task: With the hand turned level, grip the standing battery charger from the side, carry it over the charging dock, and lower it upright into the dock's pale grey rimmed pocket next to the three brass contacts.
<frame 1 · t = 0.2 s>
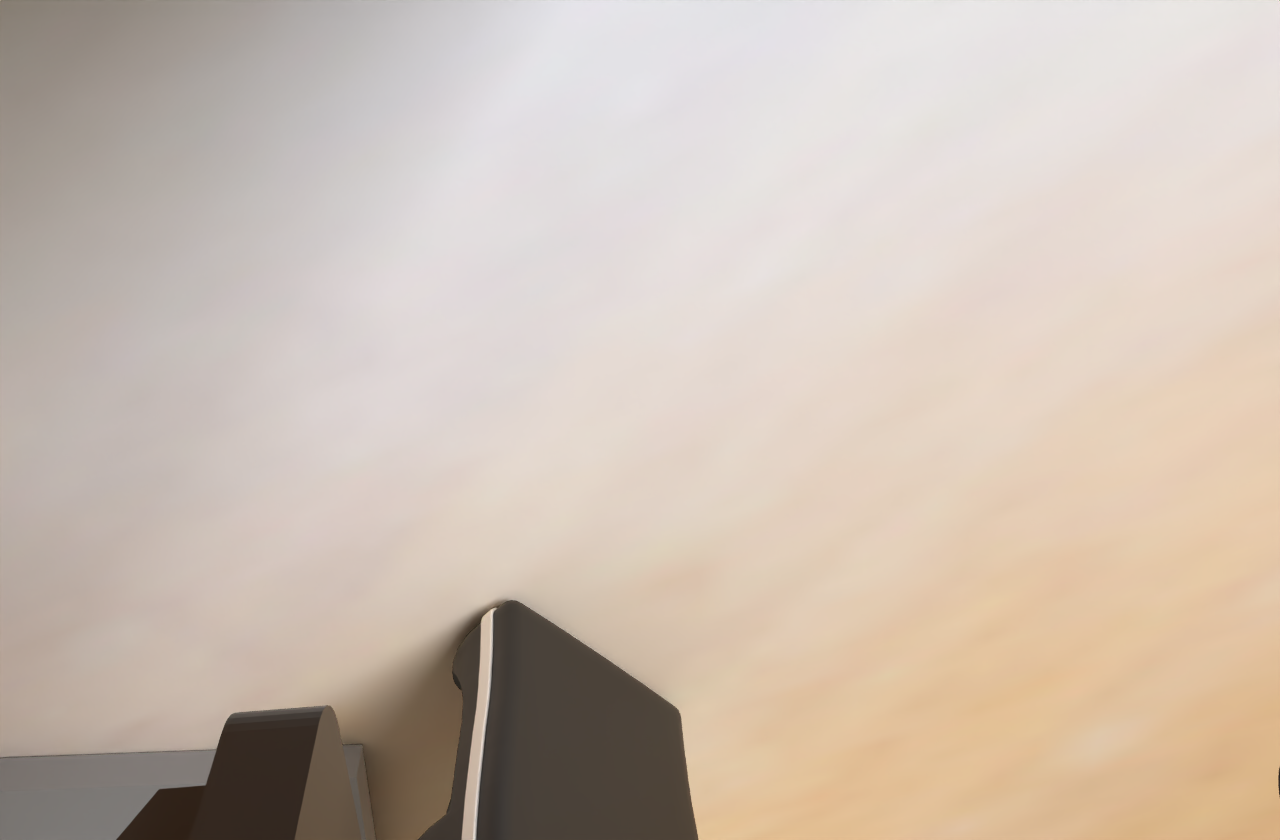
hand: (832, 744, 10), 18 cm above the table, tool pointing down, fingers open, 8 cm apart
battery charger: (554, 680, 33), on the table
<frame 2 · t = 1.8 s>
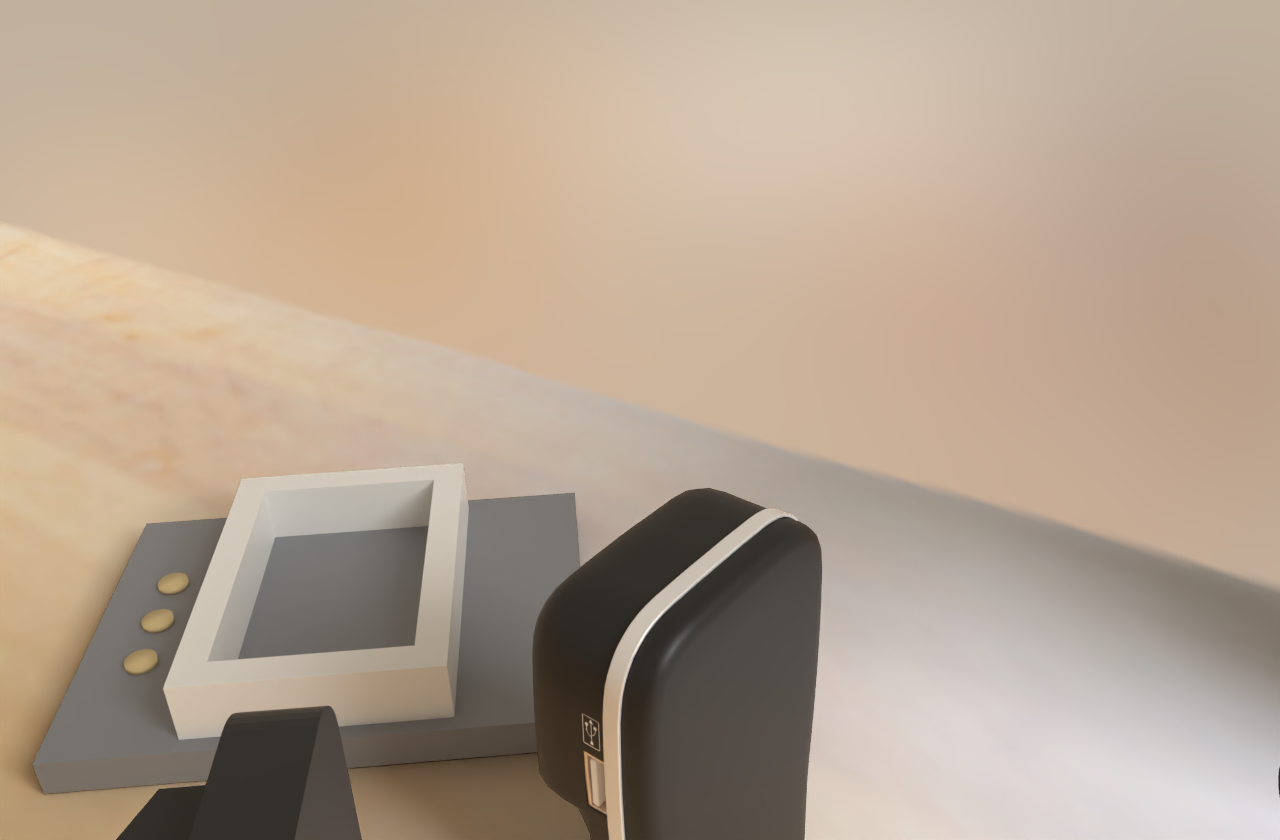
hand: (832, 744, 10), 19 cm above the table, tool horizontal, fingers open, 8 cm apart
charging dock: (347, 637, 40), on the table
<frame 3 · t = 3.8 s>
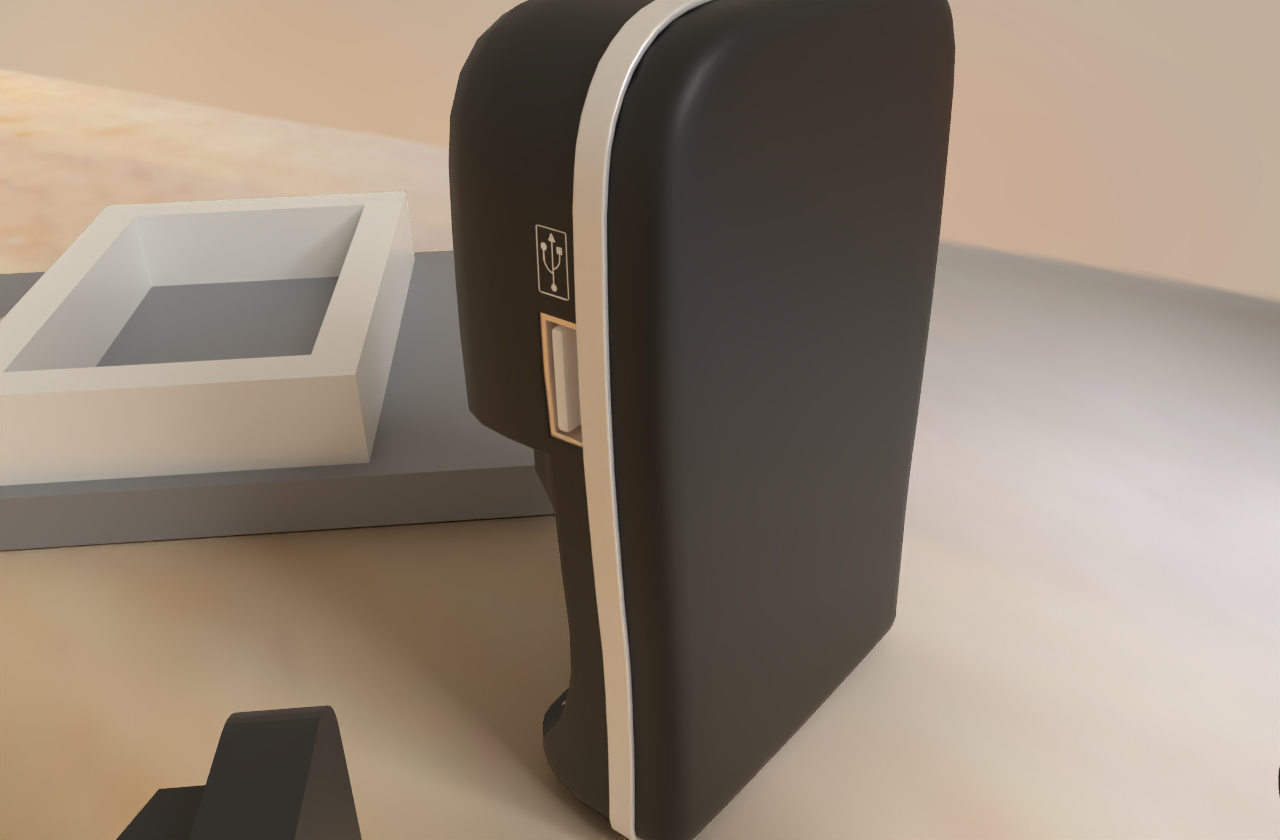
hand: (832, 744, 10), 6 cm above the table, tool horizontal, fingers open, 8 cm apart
charging dock: (237, 397, 29), on the table
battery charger: (702, 700, 20), on the table
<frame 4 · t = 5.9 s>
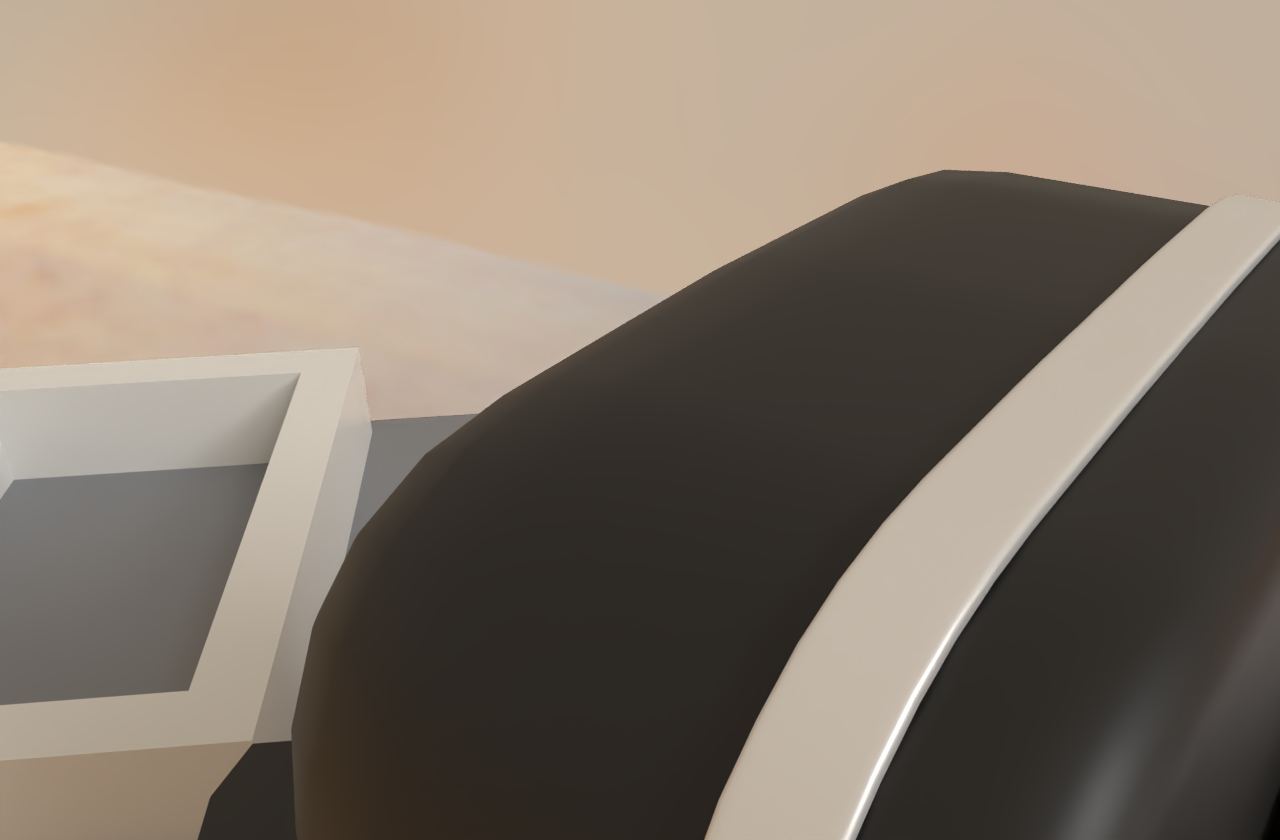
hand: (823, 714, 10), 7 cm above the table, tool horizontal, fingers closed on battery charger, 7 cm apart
charging dock: (114, 664, 21), on the table
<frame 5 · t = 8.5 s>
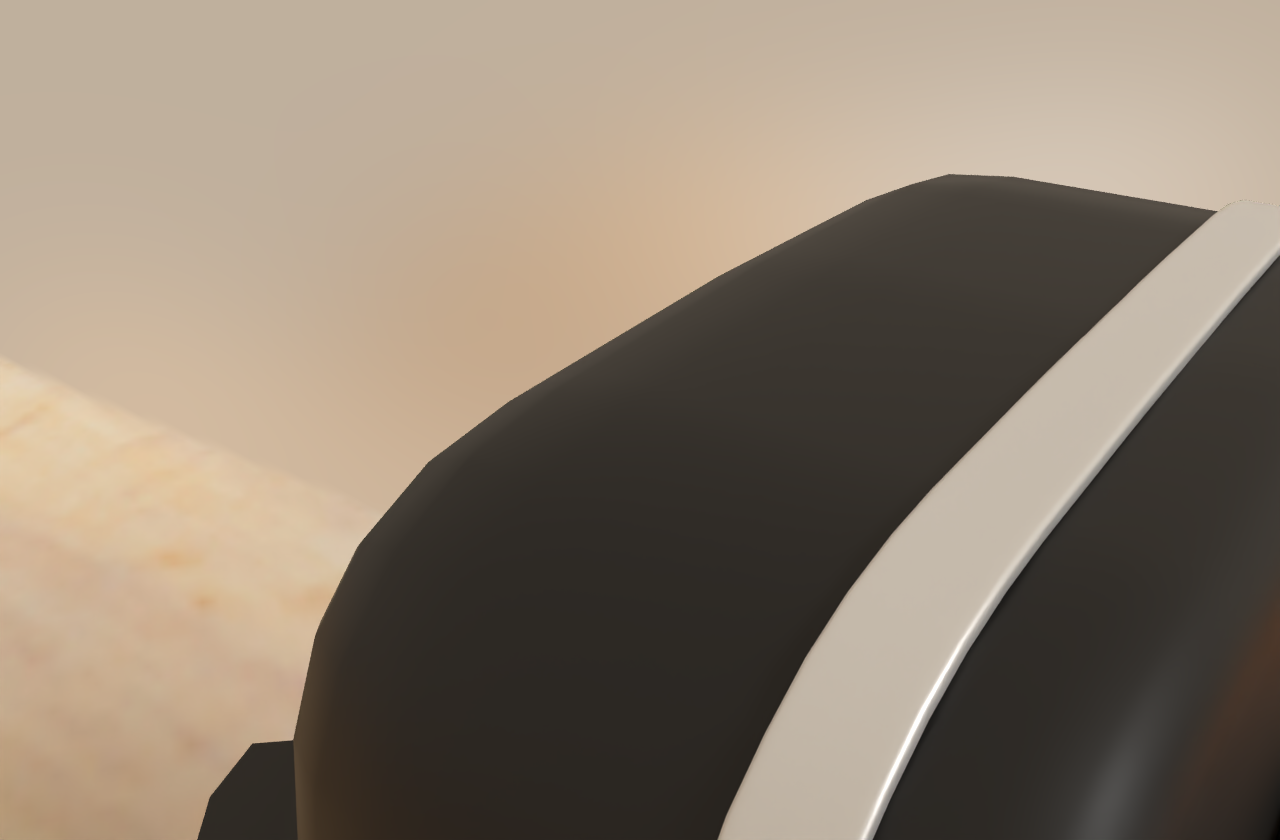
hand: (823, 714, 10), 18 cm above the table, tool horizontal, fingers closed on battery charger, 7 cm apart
when the fingers open (10 cm above the table, at t = 11.0 s): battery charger stays where it is, resting on charging dock.
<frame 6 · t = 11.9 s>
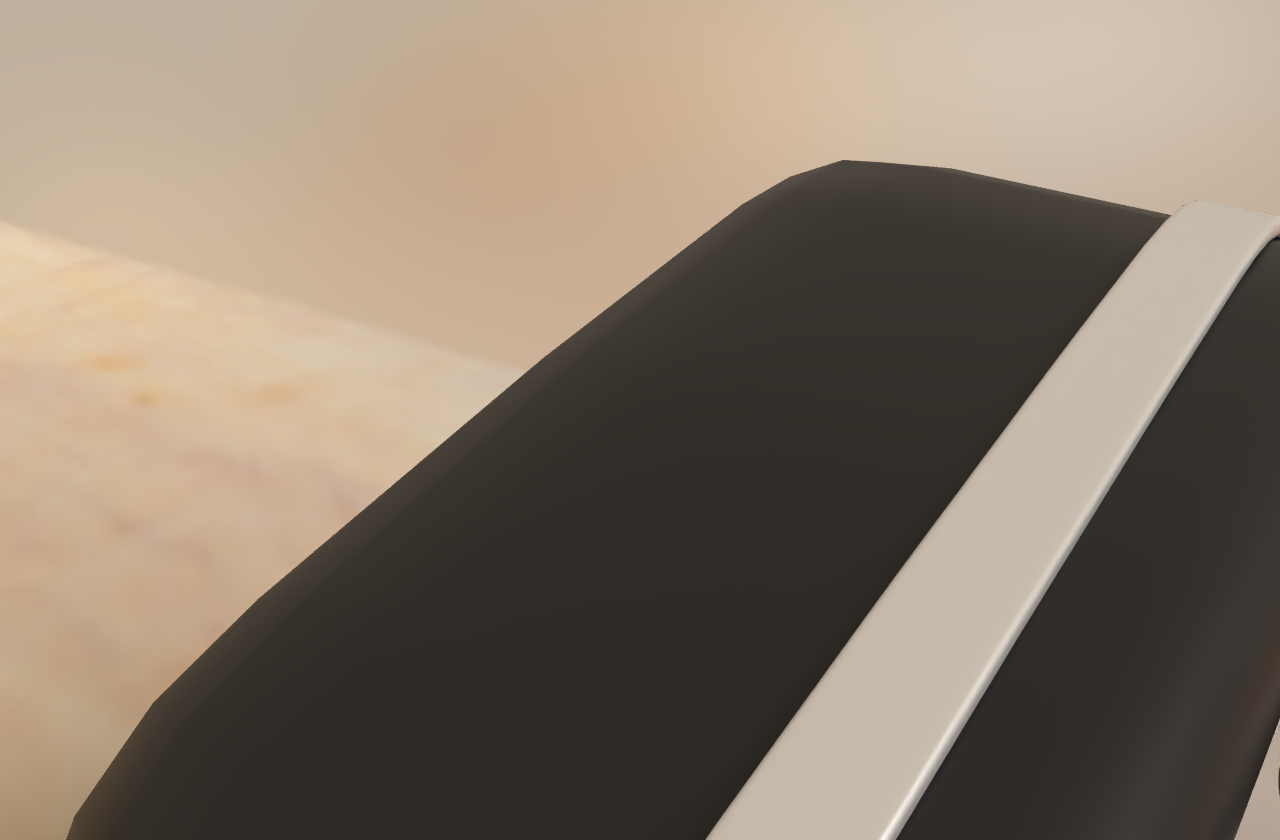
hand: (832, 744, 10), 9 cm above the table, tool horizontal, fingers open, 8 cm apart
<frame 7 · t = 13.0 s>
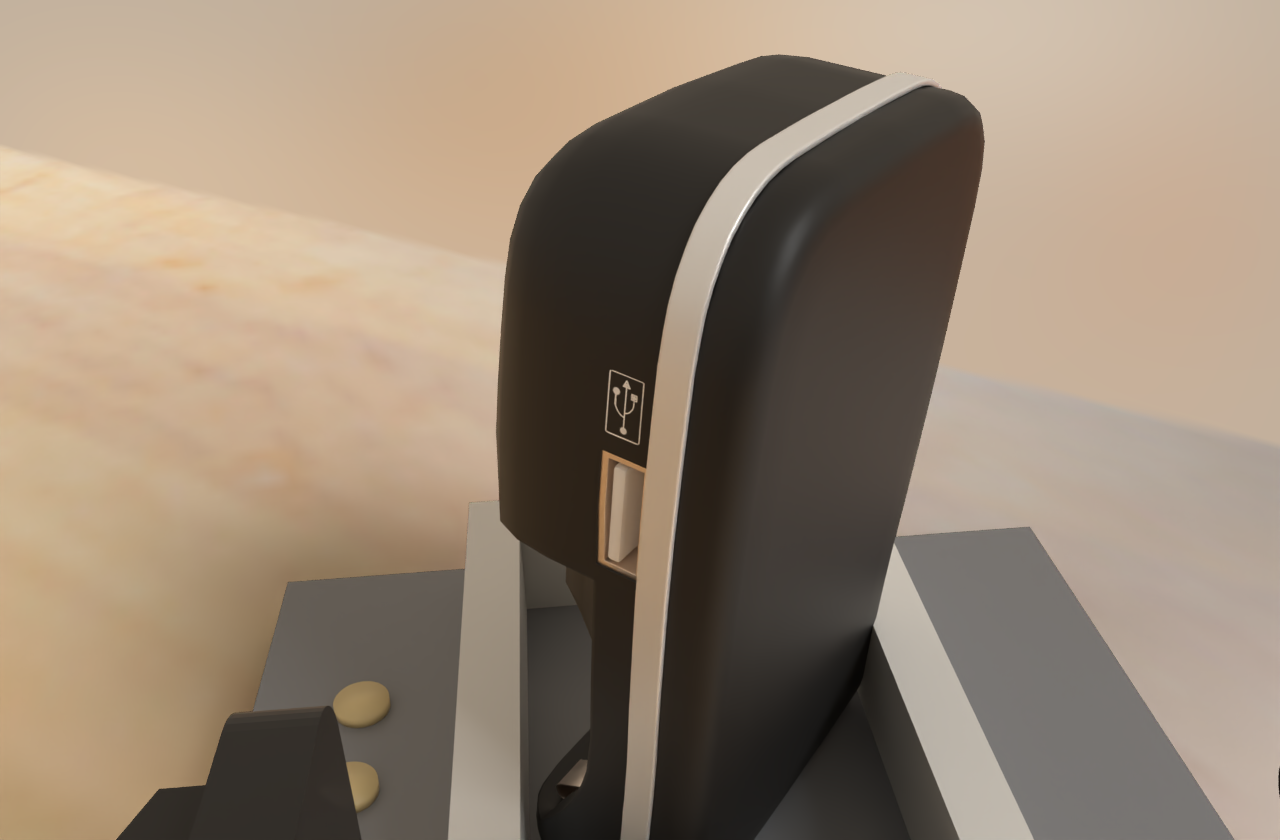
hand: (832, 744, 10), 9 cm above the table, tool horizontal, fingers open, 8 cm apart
charging dock: (704, 811, 21), on the table
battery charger: (680, 766, 20), point 1 cm above the table, touching charging dock
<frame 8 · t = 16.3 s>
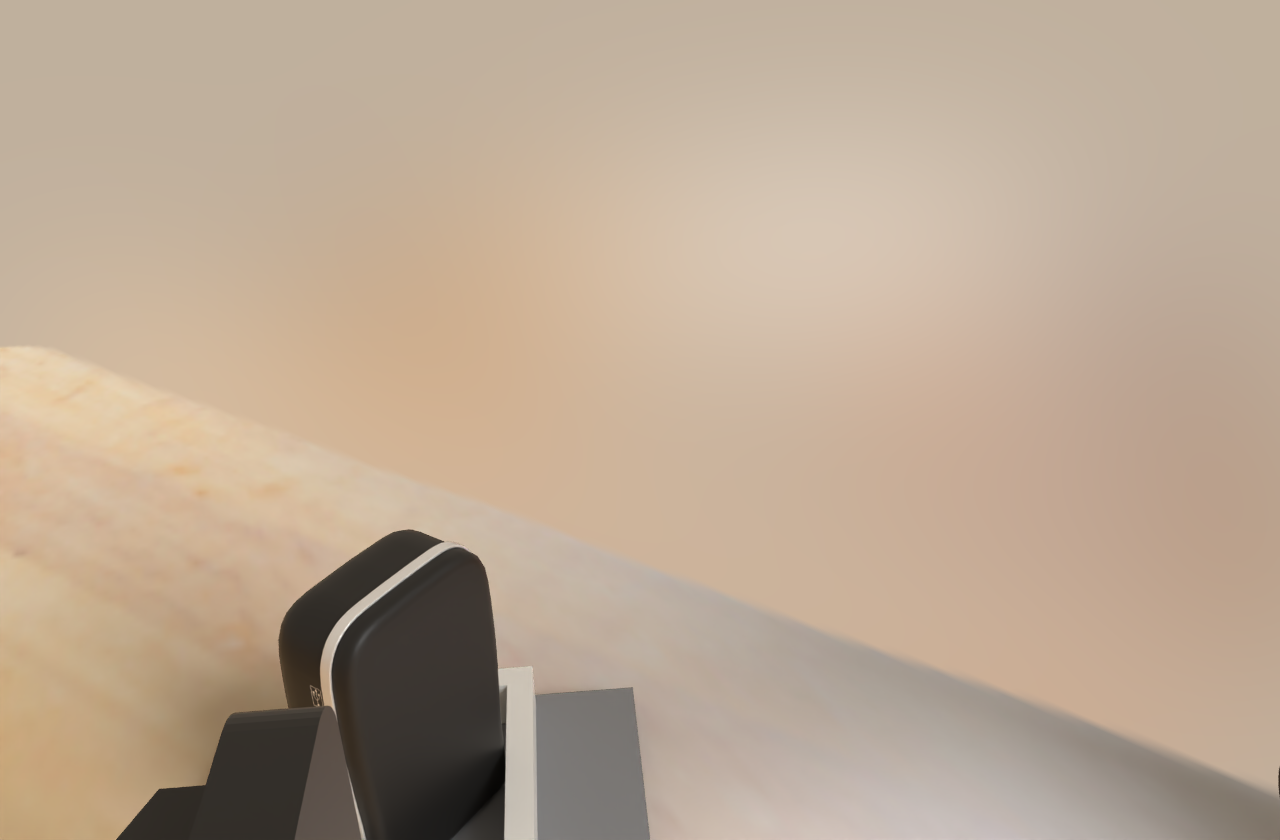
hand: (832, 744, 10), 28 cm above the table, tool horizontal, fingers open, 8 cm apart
charging dock: (431, 839, 44), on the table
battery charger: (416, 823, 43), point 1 cm above the table, touching charging dock
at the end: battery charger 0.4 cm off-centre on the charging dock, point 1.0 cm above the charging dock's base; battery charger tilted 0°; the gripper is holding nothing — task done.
